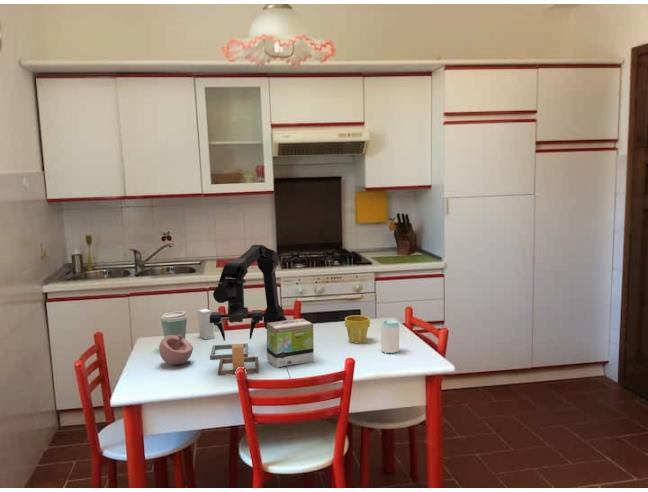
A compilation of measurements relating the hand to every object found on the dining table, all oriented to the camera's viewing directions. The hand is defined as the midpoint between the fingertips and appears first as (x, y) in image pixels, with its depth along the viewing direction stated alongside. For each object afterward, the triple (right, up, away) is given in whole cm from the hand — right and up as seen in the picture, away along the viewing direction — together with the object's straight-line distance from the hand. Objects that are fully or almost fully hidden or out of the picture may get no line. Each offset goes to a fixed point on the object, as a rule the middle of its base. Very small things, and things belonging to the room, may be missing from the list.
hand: (237, 339), depth 208 cm
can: (+57, -7, +17) cm, 60 cm away
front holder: (0, -10, +1) cm, 10 cm away
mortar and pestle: (-24, -10, +7) cm, 27 cm away
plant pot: (+45, -6, +31) cm, 55 cm away
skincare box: (-19, -6, +41) cm, 46 cm away
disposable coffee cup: (-29, -8, +25) cm, 39 cm away
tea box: (+19, -9, +7) cm, 22 cm away
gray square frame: (-6, -8, +19) cm, 21 cm away
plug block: (0, -10, +1) cm, 10 cm away
